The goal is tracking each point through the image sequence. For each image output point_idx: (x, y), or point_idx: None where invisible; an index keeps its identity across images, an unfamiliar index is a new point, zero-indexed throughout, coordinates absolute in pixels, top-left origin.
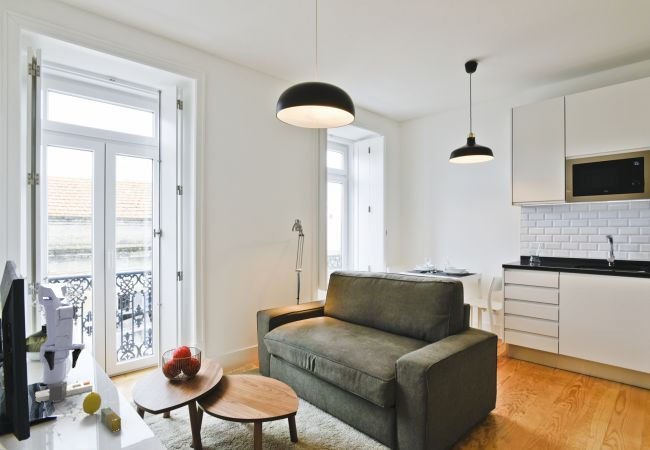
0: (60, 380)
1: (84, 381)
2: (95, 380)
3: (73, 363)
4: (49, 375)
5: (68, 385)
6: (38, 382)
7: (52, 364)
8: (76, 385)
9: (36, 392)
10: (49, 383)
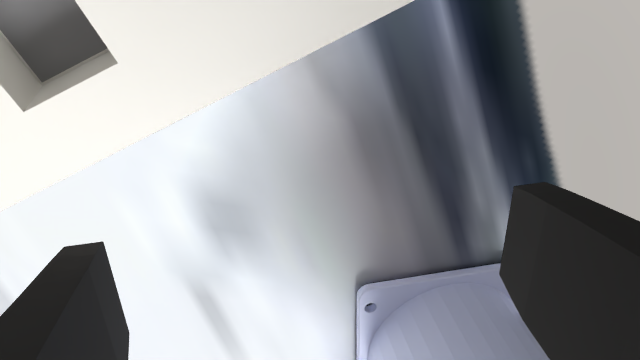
0: (382, 335)
1: (15, 199)
2: None
3: (19, 315)
4: (503, 348)
5: (182, 91)
6: None
7: (579, 298)
8: (68, 88)
9: None
10: (461, 286)
